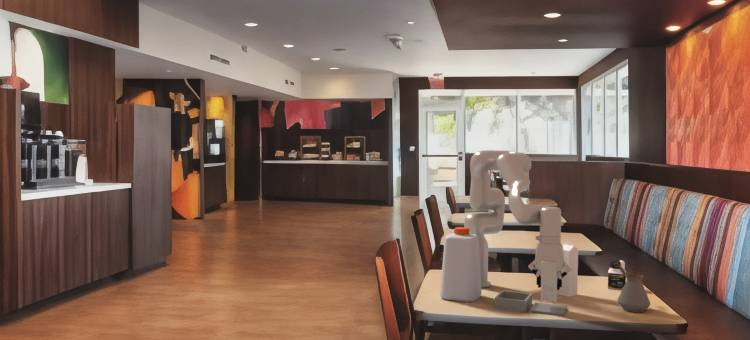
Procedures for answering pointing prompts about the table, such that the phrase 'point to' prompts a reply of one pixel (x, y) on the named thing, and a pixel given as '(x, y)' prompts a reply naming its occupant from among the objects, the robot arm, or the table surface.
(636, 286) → the coffee pot
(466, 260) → the plastic bottle
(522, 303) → the bin
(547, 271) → the skincare box
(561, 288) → the milk
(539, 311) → the pad
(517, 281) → the table surface
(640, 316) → the table surface
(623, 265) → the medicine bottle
